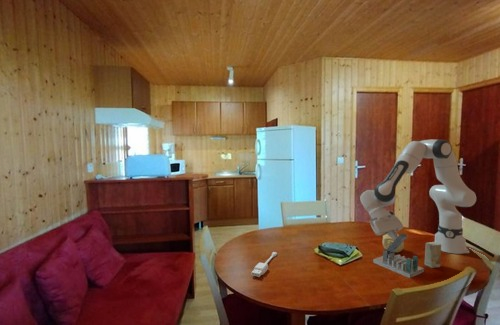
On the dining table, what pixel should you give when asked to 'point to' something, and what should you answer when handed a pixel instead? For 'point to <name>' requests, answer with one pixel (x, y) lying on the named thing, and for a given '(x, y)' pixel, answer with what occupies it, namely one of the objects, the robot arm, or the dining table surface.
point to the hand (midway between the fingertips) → (396, 239)
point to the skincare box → (432, 254)
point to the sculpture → (388, 241)
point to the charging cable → (262, 267)
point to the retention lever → (396, 243)
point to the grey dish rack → (399, 264)
